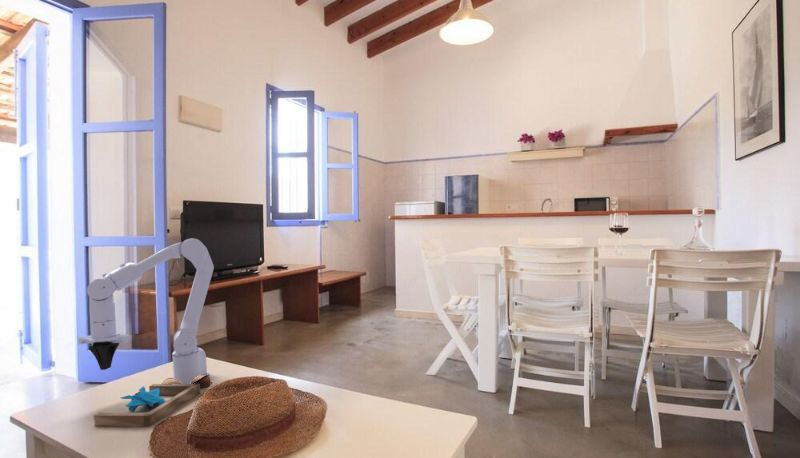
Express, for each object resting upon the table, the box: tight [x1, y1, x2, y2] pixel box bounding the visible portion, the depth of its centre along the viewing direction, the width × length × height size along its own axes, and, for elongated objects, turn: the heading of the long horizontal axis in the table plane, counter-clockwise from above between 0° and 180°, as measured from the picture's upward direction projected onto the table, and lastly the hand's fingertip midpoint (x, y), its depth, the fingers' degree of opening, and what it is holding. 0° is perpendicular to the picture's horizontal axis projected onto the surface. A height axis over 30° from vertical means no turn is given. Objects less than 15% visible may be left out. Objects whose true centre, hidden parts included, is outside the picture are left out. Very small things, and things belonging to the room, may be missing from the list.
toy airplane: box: [120, 386, 167, 413], centre depth 104 cm, size 12×10×4 cm
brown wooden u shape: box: [93, 383, 201, 427], centre depth 103 cm, size 19×14×2 cm
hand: (105, 368), depth 111 cm, fingers closed
